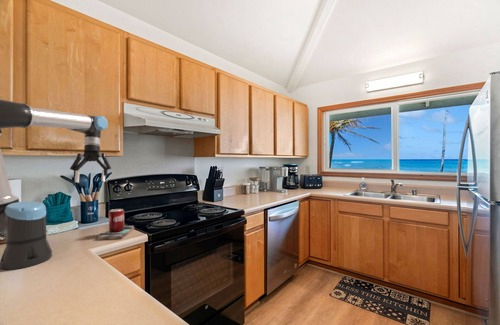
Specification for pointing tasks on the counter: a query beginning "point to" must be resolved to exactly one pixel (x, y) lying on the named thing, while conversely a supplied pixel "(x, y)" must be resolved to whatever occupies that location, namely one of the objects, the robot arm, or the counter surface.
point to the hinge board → (115, 234)
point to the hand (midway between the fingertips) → (90, 181)
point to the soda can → (116, 220)
